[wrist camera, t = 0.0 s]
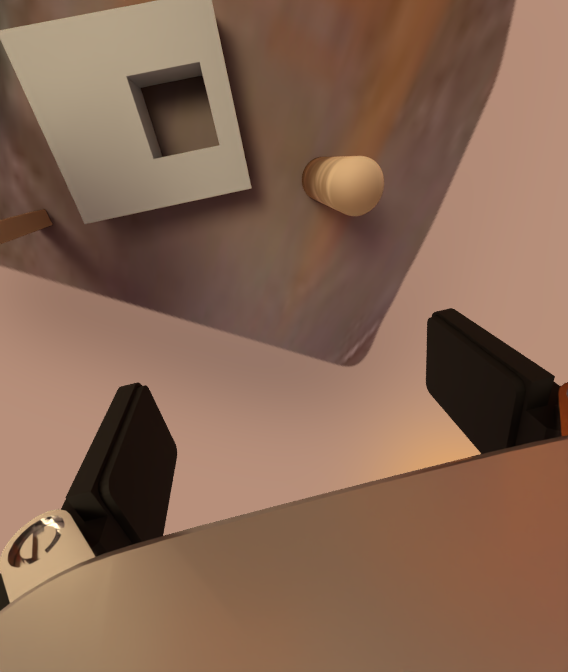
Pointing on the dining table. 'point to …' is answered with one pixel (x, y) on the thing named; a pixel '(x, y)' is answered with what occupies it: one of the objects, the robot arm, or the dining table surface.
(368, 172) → the peg
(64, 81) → the socket block
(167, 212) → the dining table surface
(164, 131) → the dining table surface
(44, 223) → the small side table
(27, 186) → the dining table surface
